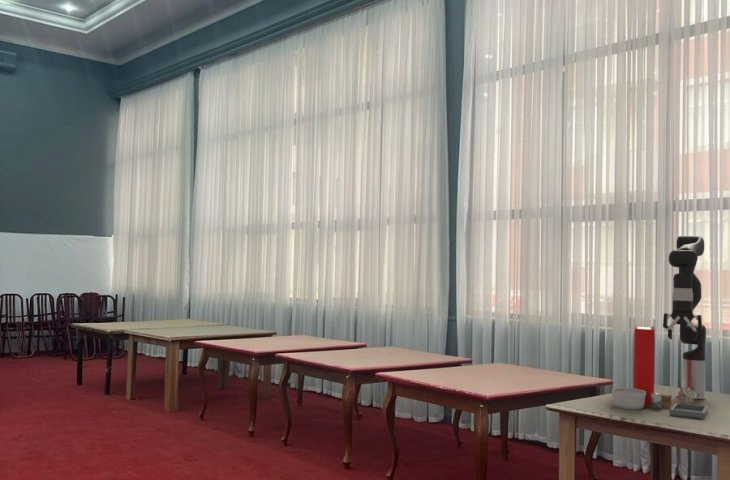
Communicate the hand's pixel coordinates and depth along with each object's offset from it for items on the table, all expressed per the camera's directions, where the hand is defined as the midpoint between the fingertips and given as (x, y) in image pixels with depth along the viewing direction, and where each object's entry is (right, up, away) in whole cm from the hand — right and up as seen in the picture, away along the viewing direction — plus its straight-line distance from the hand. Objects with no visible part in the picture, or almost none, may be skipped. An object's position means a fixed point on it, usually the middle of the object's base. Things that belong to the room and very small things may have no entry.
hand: (682, 340), depth 286 cm
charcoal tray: (+2, -29, -3) cm, 29 cm away
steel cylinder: (-8, -29, +7) cm, 31 cm away
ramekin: (-18, -29, +9) cm, 36 cm away
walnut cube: (-2, -30, +13) cm, 33 cm away
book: (-6, -30, +26) cm, 40 cm away
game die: (+10, -30, +17) cm, 36 cm away
